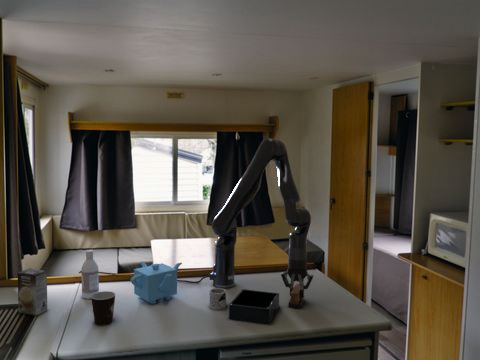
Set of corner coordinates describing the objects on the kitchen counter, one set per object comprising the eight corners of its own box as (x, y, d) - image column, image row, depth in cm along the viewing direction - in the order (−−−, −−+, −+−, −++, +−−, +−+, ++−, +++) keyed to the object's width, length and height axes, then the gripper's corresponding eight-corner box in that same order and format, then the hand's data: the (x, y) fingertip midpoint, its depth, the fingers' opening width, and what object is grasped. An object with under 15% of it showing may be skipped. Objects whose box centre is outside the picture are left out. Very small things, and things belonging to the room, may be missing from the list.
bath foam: (81, 294, 188) (80, 249, 186) (98, 292, 190) (97, 248, 188) (82, 300, 181) (81, 253, 179) (99, 297, 184) (98, 251, 182)
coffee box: (17, 312, 167) (16, 272, 166) (30, 306, 174) (29, 267, 172) (36, 316, 164) (34, 275, 163) (48, 309, 171) (47, 270, 169)
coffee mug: (102, 328, 154) (101, 301, 154) (86, 322, 159) (85, 296, 158) (126, 317, 164) (126, 291, 163) (111, 312, 169) (110, 287, 168)
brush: (288, 308, 175) (288, 292, 174) (293, 297, 186) (293, 283, 186) (300, 309, 173) (300, 293, 173) (304, 299, 185) (305, 284, 184)
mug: (221, 310, 171) (222, 294, 171) (206, 308, 174) (206, 292, 173) (231, 302, 181) (231, 286, 180) (216, 299, 183) (216, 284, 182)
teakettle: (128, 305, 176) (127, 270, 175) (141, 289, 195) (140, 257, 193) (173, 306, 175) (173, 271, 174) (182, 290, 194) (182, 258, 192)
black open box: (229, 319, 164) (229, 304, 163) (242, 302, 180) (242, 289, 180) (269, 324, 159) (269, 309, 158) (278, 307, 176) (279, 293, 175)
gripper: (315, 256, 180) (314, 296, 181) (282, 253, 184) (281, 292, 185) (313, 261, 172) (312, 302, 174) (279, 257, 176) (278, 298, 178)
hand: (296, 297), depth 180 cm, fingers closed on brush, 3 cm apart
